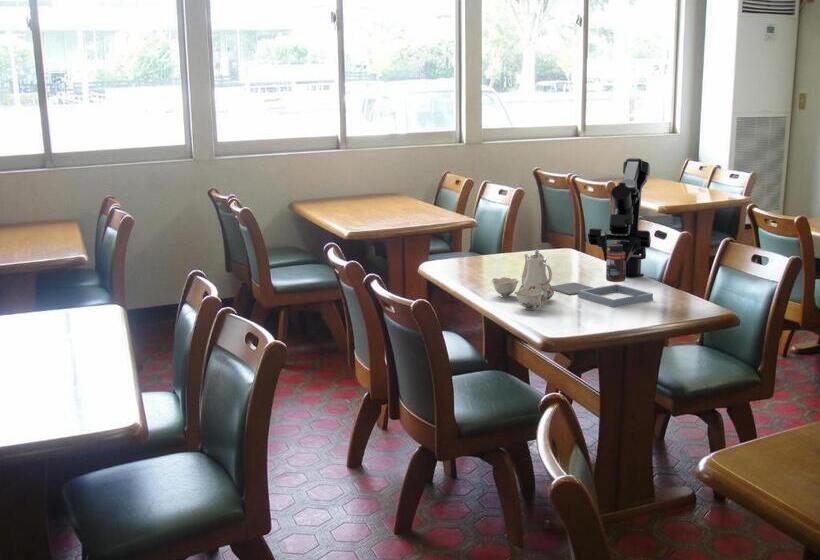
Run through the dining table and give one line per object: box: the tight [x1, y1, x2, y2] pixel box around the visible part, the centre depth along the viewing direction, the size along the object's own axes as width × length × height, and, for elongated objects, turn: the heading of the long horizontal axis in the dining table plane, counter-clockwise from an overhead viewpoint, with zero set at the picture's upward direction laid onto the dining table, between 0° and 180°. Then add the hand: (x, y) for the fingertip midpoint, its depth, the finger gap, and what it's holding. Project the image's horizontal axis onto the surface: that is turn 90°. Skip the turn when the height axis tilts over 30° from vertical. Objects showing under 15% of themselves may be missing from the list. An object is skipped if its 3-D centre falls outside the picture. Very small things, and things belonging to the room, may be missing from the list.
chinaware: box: [491, 248, 555, 311], centre depth 274 cm, size 28×17×17 cm, turn 24°
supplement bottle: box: [605, 243, 627, 283], centre depth 275 cm, size 6×6×11 cm
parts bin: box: [577, 283, 654, 308], centre depth 277 cm, size 16×16×2 cm
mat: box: [551, 282, 594, 296], centre depth 290 cm, size 12×12×1 cm
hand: (615, 260), depth 274 cm, fingers closed on supplement bottle, 6 cm apart
